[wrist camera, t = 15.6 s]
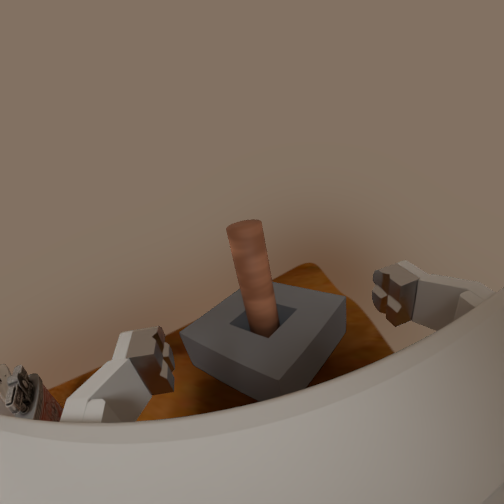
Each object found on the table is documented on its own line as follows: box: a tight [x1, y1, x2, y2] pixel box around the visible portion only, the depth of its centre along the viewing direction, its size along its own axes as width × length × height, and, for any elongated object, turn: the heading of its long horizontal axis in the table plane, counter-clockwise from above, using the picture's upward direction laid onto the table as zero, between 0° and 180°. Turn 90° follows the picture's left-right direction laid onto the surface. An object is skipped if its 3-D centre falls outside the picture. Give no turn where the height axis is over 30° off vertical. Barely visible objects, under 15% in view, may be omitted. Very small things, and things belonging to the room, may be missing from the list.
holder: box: [179, 282, 346, 402], centre depth 29 cm, size 13×13×5 cm
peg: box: [226, 220, 280, 338], centre depth 27 cm, size 3×3×14 cm
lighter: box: [5, 365, 63, 422], centre depth 17 cm, size 8×3×10 cm, turn 31°
